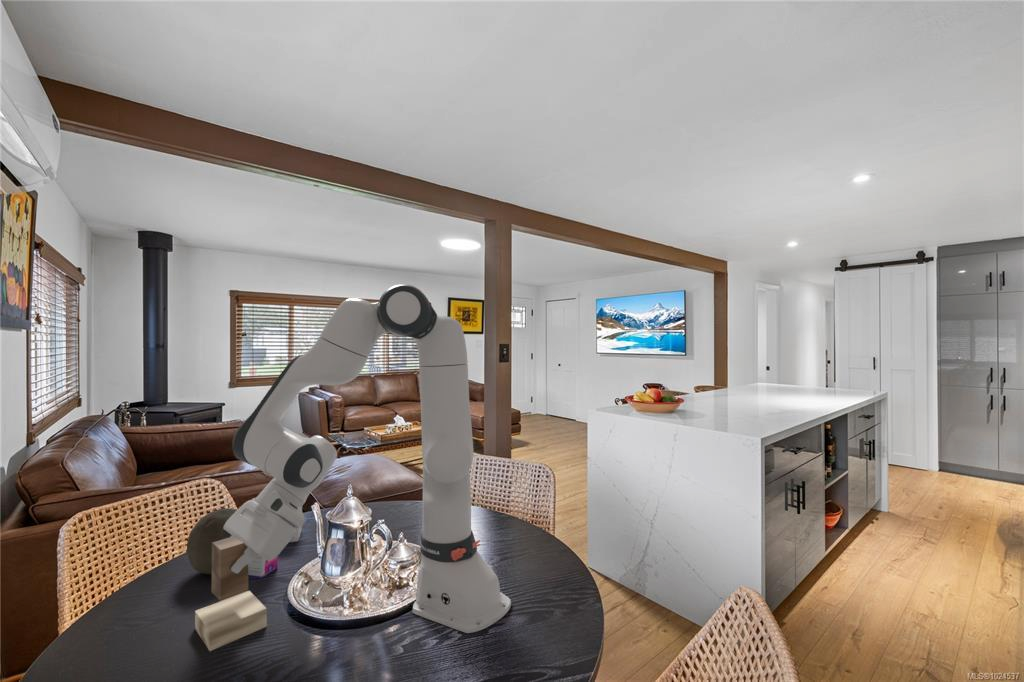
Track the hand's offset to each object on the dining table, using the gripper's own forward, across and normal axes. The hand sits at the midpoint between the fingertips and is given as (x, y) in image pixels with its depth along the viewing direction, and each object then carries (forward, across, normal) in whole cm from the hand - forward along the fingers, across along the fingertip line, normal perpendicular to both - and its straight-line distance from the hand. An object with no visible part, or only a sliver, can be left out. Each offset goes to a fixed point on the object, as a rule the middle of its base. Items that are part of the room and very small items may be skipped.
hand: (226, 565), depth 91 cm
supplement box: (-1, -19, +19) cm, 27 cm away
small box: (-10, -34, +29) cm, 46 cm away
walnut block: (+3, 0, +4) cm, 5 cm away
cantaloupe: (+4, -28, +15) cm, 32 cm away
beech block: (+9, 0, +10) cm, 13 cm away
